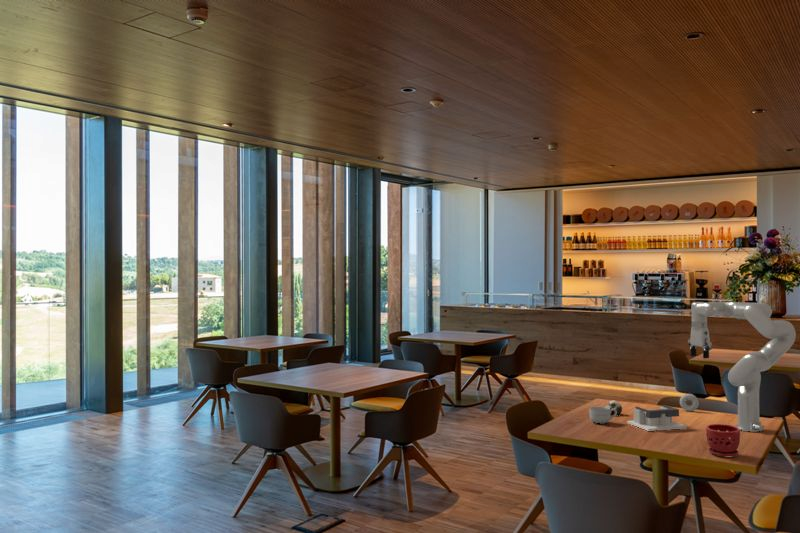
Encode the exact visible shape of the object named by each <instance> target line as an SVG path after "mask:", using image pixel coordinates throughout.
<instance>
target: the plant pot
mask: <svg viewBox="0 0 800 533" xmlns="http://www.w3.org/2000/svg"><path fill="white" fill-rule="evenodd" d="M705 427H706V428H705V430H706V431H705V433H706V441H707V443H708V446H709V448H708V452H709V453H710V454H711V453H712V454H711V455H713V454H714V455H713V456H715V455H719V456H735V457H737V456H738V455H739V450H738V448H739V446H740V442H741V438H740V436H741V430H740V429H739V428H737V427H735V425H731V424H725V423H723V424H722V423H715V424H708V425H707V426H705Z"/></svg>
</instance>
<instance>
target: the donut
mask: <svg viewBox="0 0 800 533" xmlns="http://www.w3.org/2000/svg"><path fill="white" fill-rule="evenodd" d="M687 401H691V404H687ZM699 402H700V401H699V398H697V396H696V395H694V394H693V393H685V394H683V395H682V396H680V398H679V405H680V407H681V408H682V409H683V410H685V411H687V412H694V411H696V410H697V409H698V407H699V404H700V403H699Z"/></svg>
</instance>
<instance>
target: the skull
mask: <svg viewBox="0 0 800 533" xmlns="http://www.w3.org/2000/svg"><path fill="white" fill-rule="evenodd" d="M604 407H608V408H610V410H611V409H615V410H616V411H617V415H621V413H622V412H623V407H622V405H621V403H620V402H618V401H616V400H611V401H609V402H608V403H606V405H605V406H604ZM614 414H615V411H612V412H611V414H610V417H611V416H613V415H614ZM617 415H616V416H615V417H618V416H617Z"/></svg>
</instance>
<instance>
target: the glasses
mask: <svg viewBox="0 0 800 533" xmlns="http://www.w3.org/2000/svg"><path fill="white" fill-rule="evenodd" d="M662 407H665V408H668V409H661V408H655V409H656V410H653V409H646V408H643V407H640V406H635V408H634V409H638V410H641V411H644V412H646V417H647V418H661V414H665V416H666V417H672V418H673V417H674V418H676V417H679V416H680V409H679V408H676V407H672V406H669V405H666V404H662Z"/></svg>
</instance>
